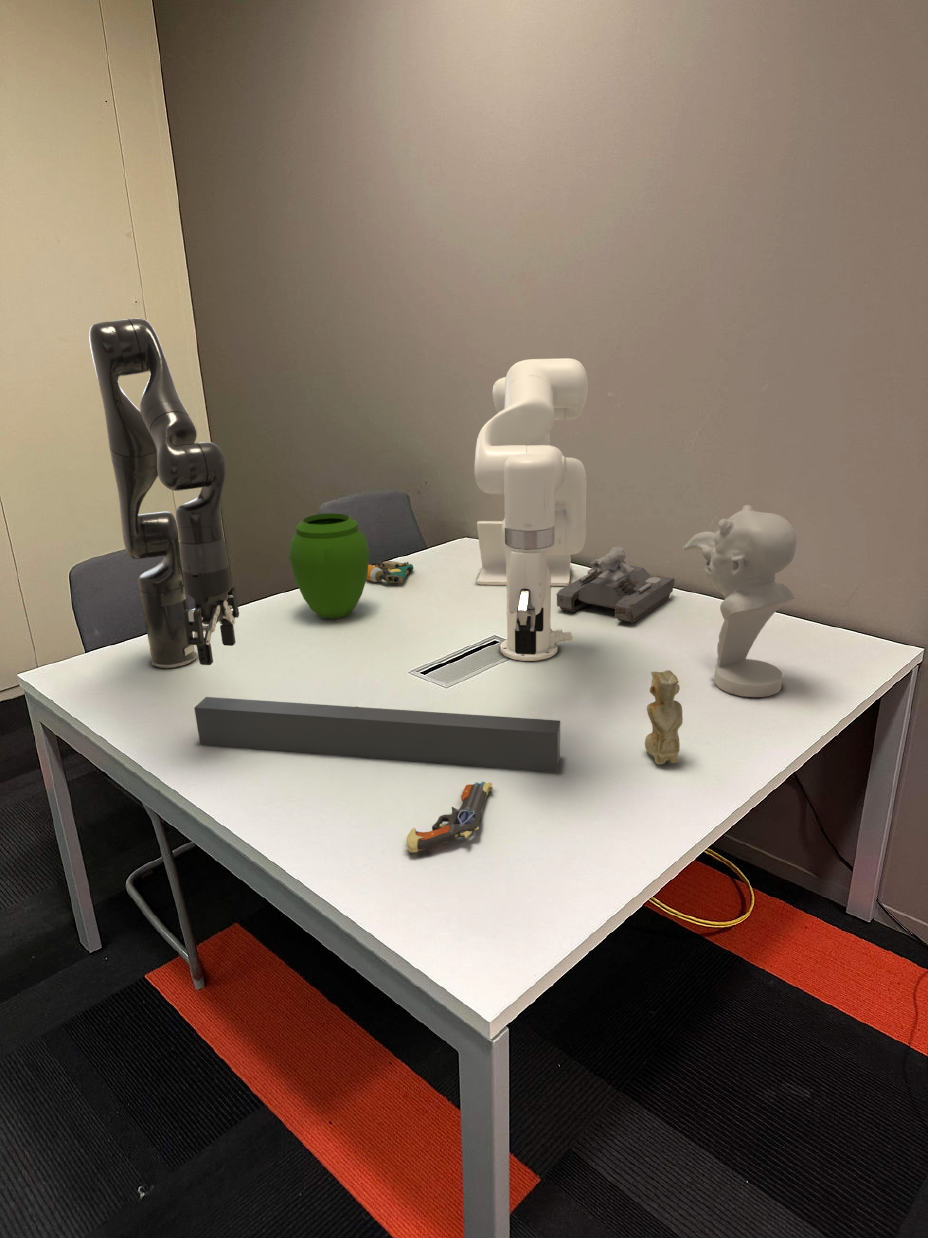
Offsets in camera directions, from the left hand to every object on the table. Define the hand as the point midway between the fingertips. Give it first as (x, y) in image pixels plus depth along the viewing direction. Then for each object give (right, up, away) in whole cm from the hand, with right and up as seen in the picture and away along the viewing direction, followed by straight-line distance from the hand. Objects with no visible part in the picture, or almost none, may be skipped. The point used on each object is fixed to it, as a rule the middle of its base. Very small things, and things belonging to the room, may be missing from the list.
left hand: (218, 654), depth 148 cm
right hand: (+53, +3, -13) cm, 55 cm away
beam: (+27, -17, +1) cm, 32 cm away
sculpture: (+76, -17, -4) cm, 78 cm away
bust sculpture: (+96, -6, +24) cm, 99 cm away
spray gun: (+22, +18, +93) cm, 97 cm away
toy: (+81, +10, +67) cm, 105 cm away
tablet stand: (+60, +18, +91) cm, 111 cm away
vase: (+10, +7, +66) cm, 67 cm away
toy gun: (+41, -24, -20) cm, 51 cm away
